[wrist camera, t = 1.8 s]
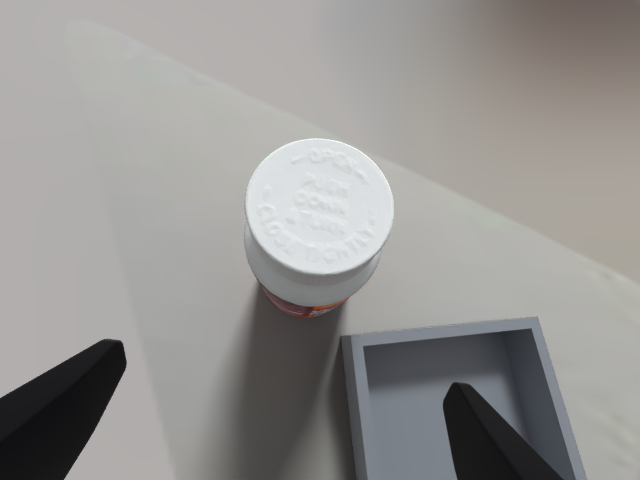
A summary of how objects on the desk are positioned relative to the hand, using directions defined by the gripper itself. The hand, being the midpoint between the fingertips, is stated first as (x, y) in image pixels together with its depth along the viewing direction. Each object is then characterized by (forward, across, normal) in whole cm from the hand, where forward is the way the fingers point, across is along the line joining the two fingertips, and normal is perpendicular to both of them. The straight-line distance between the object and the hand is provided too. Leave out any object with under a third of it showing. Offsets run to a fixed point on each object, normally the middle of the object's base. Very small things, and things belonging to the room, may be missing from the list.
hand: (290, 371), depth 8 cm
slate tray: (+6, -10, +10) cm, 15 cm away
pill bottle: (+12, 0, +5) cm, 13 cm away
